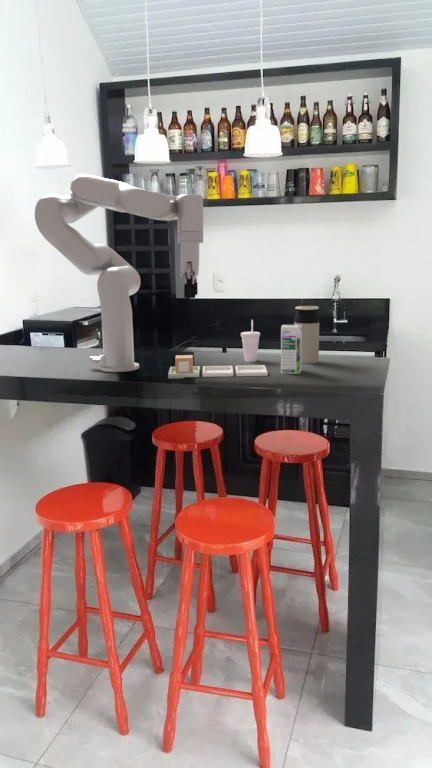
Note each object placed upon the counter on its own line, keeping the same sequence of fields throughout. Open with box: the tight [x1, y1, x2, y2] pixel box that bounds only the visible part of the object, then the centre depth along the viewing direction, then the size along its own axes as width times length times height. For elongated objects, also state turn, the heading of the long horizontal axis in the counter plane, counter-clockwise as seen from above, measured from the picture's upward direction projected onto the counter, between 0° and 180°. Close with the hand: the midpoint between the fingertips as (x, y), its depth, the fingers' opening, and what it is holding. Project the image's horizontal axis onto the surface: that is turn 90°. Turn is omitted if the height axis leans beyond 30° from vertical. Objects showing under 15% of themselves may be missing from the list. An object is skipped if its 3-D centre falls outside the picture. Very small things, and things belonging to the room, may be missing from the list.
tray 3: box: [234, 364, 269, 377], centre depth 194 cm, size 9×11×2 cm
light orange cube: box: [174, 354, 194, 373], centre depth 194 cm, size 5×5×5 cm
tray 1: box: [167, 365, 201, 380], centre depth 194 cm, size 9×11×2 cm
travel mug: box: [293, 305, 320, 365], centre depth 209 cm, size 8×8×18 cm
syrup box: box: [280, 324, 302, 375], centre depth 193 cm, size 6×6×14 cm
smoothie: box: [240, 319, 261, 363], centre depth 212 cm, size 6×6×14 cm
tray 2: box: [202, 365, 235, 378], centre depth 194 cm, size 9×11×2 cm
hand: (191, 296), depth 194 cm, fingers open, 9 cm apart
